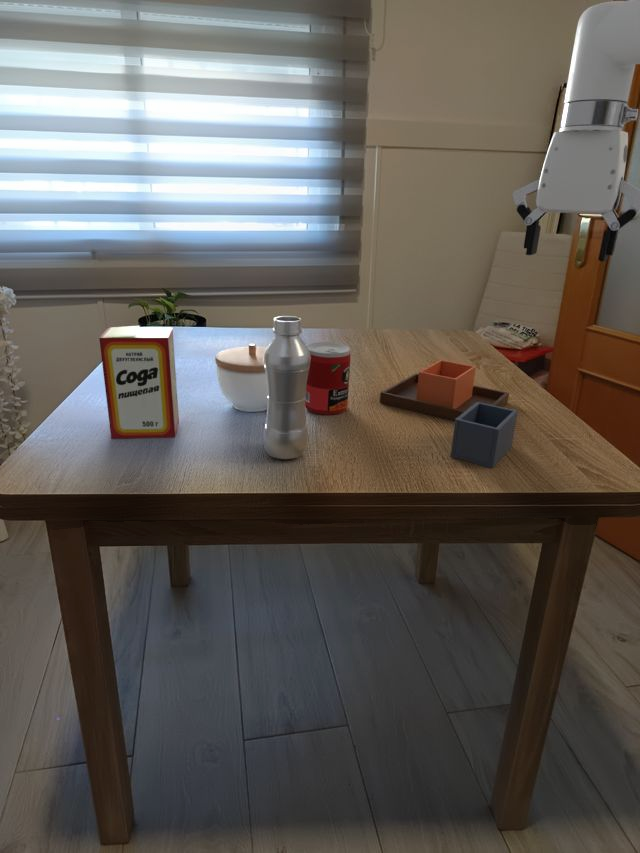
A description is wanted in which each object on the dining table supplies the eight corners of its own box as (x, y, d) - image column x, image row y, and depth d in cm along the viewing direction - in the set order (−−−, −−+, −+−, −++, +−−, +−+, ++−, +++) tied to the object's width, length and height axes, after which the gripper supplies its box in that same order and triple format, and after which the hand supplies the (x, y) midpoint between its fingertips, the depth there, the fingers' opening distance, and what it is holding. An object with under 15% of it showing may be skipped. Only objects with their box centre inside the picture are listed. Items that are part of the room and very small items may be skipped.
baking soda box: (178, 421, 94) (172, 325, 88) (175, 437, 88) (167, 335, 82) (119, 422, 93) (108, 325, 87) (111, 438, 87) (98, 335, 81)
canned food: (335, 418, 98) (338, 356, 93) (295, 409, 101) (296, 348, 97) (355, 405, 104) (358, 346, 100) (317, 397, 107) (319, 339, 103)
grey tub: (511, 446, 89) (518, 410, 87) (492, 468, 82) (499, 429, 80) (472, 436, 92) (477, 401, 90) (450, 456, 85) (455, 419, 83)
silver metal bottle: (253, 455, 83) (251, 318, 76) (285, 441, 88) (287, 311, 81) (285, 469, 80) (287, 326, 72) (317, 454, 84) (322, 319, 77)
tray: (507, 402, 108) (509, 392, 107) (480, 427, 96) (482, 416, 95) (414, 382, 118) (415, 373, 117) (379, 402, 106) (380, 392, 105)
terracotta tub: (471, 396, 109) (476, 366, 107) (452, 411, 101) (456, 379, 99) (437, 389, 112) (440, 359, 110) (415, 403, 105) (418, 371, 102)
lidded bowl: (226, 421, 95) (224, 357, 91) (210, 396, 106) (208, 338, 101) (297, 413, 99) (299, 351, 95) (275, 390, 110) (276, 334, 106)
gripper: (670, 121, 73) (637, 261, 79) (531, 125, 81) (512, 250, 88) (665, 114, 67) (629, 265, 74) (516, 119, 76) (496, 254, 82)
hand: (565, 257), depth 81 cm, fingers open, 9 cm apart
